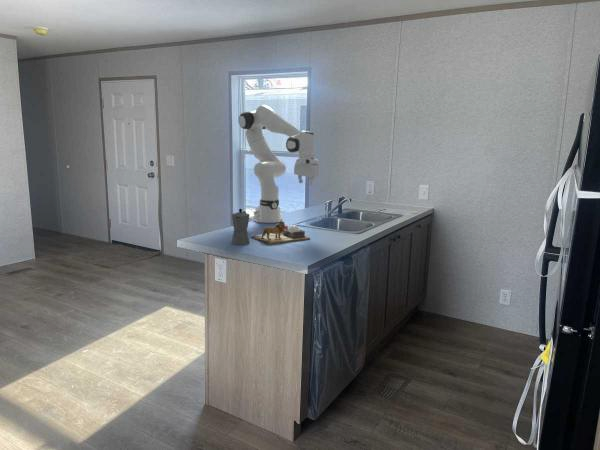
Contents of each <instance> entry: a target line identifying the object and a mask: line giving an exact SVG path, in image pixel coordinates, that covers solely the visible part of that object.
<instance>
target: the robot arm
mask: <svg viewBox="0 0 600 450" xmlns="http://www.w3.org/2000/svg"><path fill="white" fill-rule="evenodd" d="M238 124H239V126H240V128H242V129H243V130H246V131H245V137H246V140H247V143H248V146H249V148H250V150H251V152H252V154H253V157H254V158H255V159H257V160H258V161H259V162H257V163H255V165H254V166H253V173H254V176H255V177H257V179H258V181H259V184H260V197H261V199H259V205H258V206H257V207H256V208H255V209H254V211H253V216H250V219H251V220H253V222H256V223H264V224H265V223H266V224H268V223H269V224H271V223H273V224H275V223H278V222H280V221H283V218H281V216H282V215H281V208H280V207H279V205H280V200H279V186H278V185H277V184H276V182H275V178H279V177H281V176H284V174H286V169H287V167H286V164H285V163H284V162H283V161H281V160H280V159H279V158H278V157H277V156H276V155H275V154H274V152H273V151H272V149H271V148H270V146H269V144H268V142H267V140H266V138H265V135H264V134H263V130H267V131H269V132H271V133H274V134H282V135H285V136H287V139H286V142H285V147H286V149H287V152H288V153H290V154H298V158H297V159H296V160H295V163H294V166H293V173H294V175H295V176H297V178H298V183H299V184H303V182H304V180H303V177H306V178H309V181H308V183H307V184H308V186H312V185H313V182H314V180H315V179H317V178H319V175H320V166H319V165H320V160H319V159H318V158H316V157H315V148H316V137H315V133H314V132H313V131H310V130H309V131H308V130H301V131H300V130H299V129H297V128H296V127H295V126H294V125H292V124H291V123H290V122H288V121H287V120H285V119H284V118H283V117H282V116H281V115H279V114H278V113H277V112H276V111H275V110H274V109H272V108H271V107H270V106H268V105H267V104H261V105H259V106H258V107H257V108H256V109H253V110H250V111H244V112H242V113H240V114H239V116H238Z"/></svg>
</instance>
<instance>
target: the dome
mask: <svg viewBox="0 0 600 450" xmlns="http://www.w3.org/2000/svg"><path fill="white" fill-rule="evenodd" d="M300 230H301V229H300V228H299V226H297V225H295V224H293V225H290V226H289V227H288V231H290V232H298V231H300Z"/></svg>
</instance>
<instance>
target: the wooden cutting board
mask: <svg viewBox="0 0 600 450" xmlns="http://www.w3.org/2000/svg"><path fill="white" fill-rule="evenodd" d="M288 229H289V228H288ZM288 229H284V230H283V232H282V233H281V234H280V238H281V239H279V238H276V237H275V236H276V235H275V234H272V233H270V235H269V238H270V239H271V240H269V239H268V238H267V234H265V235H264V236H263V238H264V239H261V238H262V234H256V235H250V238H251V239H254V240H256V241H258V242H260V243H263V244H266V245H268V246H272V245H273V246H274V245H280V244H287V243H296V242H301V241H303V242H304V241H308V240H309V241H310V240H311V237H309V236H306V231H305V230H303V229H300V231H298V232H290V231H288ZM277 237H278V233H277Z"/></svg>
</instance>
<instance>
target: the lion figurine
mask: <svg viewBox="0 0 600 450" xmlns="http://www.w3.org/2000/svg"><path fill="white" fill-rule="evenodd" d="M285 225H286V224H285V222H284V221H283V220H281V221H280V222H277V224H276V225H275V226H266V227H264V229H263V231H262V233H261V235H262V238H261V239H264V238H263V236H264V235H265V234H267V238H268V239H269V240H271V239H270V238H269V235H270V234H271V233H272V234H275V235H276V236H275V237H276V238H279V239H281V238H280V234H281V233H282V232H283V230H284V227H285ZM277 233H278V237H277Z"/></svg>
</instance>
